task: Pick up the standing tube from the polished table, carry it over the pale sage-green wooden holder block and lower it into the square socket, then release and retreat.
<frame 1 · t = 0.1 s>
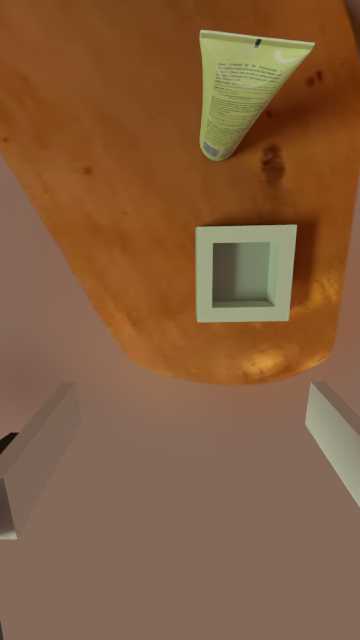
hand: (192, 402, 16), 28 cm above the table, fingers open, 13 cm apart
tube: (219, 141, 37), on the table
socket block: (238, 272, 42), on the table
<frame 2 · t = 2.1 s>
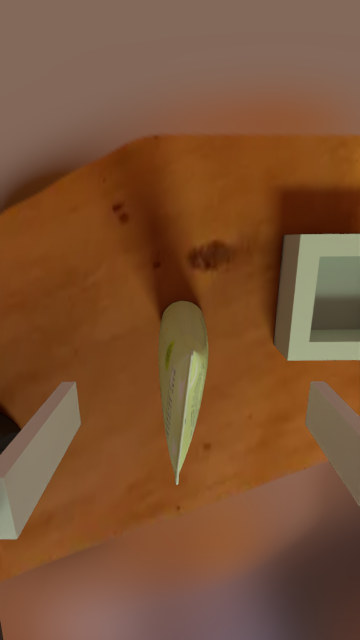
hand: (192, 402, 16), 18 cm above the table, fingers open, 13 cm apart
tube: (183, 318, 33), on the table
socket block: (333, 292, 32), on the table
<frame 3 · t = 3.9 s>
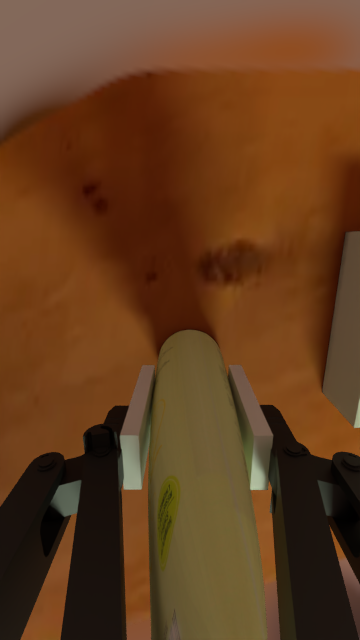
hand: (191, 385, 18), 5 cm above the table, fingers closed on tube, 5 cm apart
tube: (190, 354, 23), on the table, touching gripper
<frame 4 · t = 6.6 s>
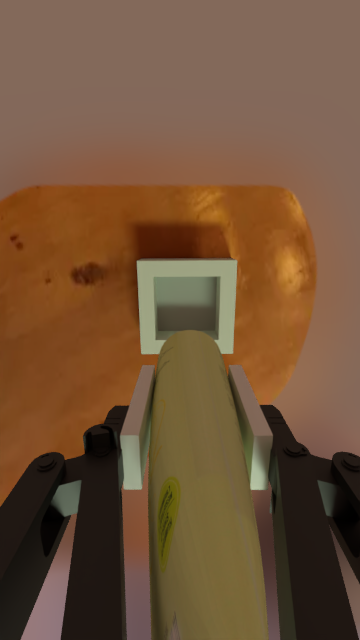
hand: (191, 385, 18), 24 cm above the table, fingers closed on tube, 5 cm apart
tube: (190, 354, 23), point 20 cm above the table, touching gripper
socket block: (186, 301, 41), on the table
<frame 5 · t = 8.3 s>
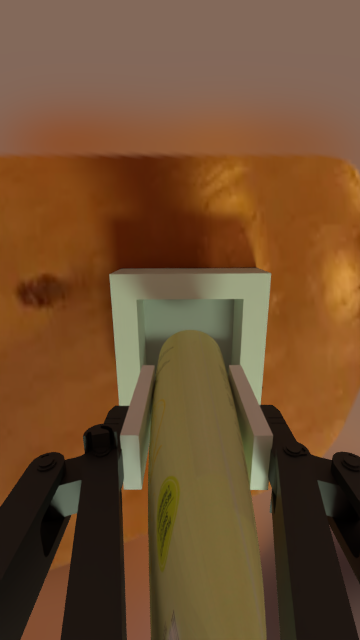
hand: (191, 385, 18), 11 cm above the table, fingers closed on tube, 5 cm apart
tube: (190, 354, 23), point 6 cm above the table, touching gripper
socket block: (188, 332, 28), on the table
when the fingers open (6 cm above the table, at t = 9.6 s): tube stays where it is, resting on socket block.
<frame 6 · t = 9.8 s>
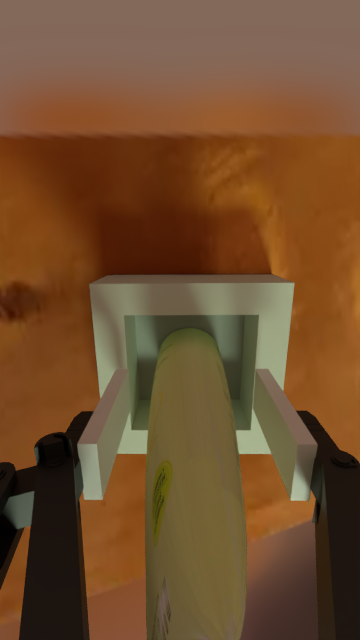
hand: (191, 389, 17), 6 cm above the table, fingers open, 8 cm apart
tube: (189, 352, 23), resting on socket block
socket block: (189, 350, 23), on the table
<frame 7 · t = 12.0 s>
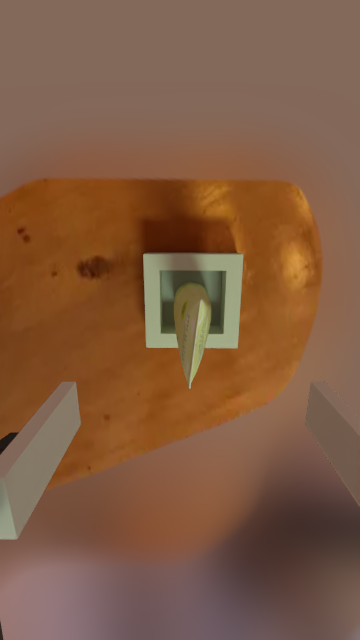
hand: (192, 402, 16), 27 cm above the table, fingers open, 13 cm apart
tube: (191, 296, 41), resting on socket block
socket block: (191, 296, 41), on the table
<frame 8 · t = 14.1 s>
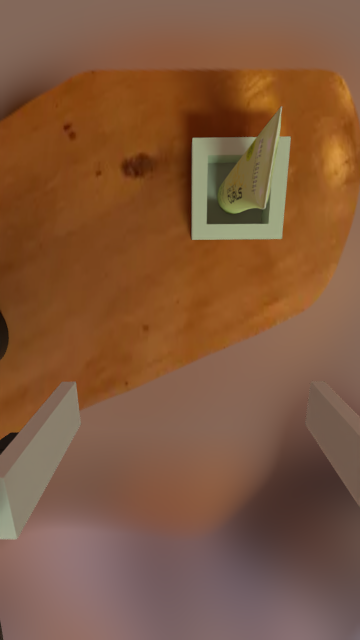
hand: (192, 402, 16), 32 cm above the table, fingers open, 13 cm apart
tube: (233, 195, 42), resting on socket block
socket block: (233, 195, 42), on the table
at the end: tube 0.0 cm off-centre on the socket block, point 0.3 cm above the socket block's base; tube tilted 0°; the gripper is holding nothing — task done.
